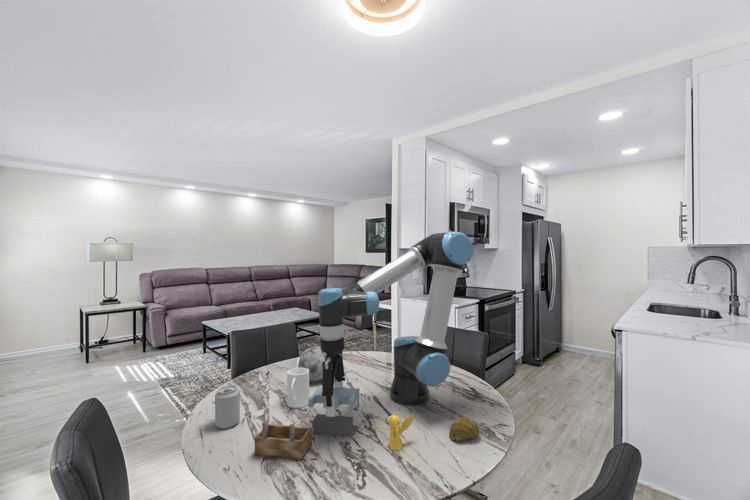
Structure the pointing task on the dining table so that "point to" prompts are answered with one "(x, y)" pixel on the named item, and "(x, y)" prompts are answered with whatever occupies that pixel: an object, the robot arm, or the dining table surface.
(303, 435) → the carcass
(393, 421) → the figurine
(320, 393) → the door
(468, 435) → the seashell
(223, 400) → the can
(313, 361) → the stone
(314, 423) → the gray rectangular block
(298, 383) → the mug
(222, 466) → the dining table surface
